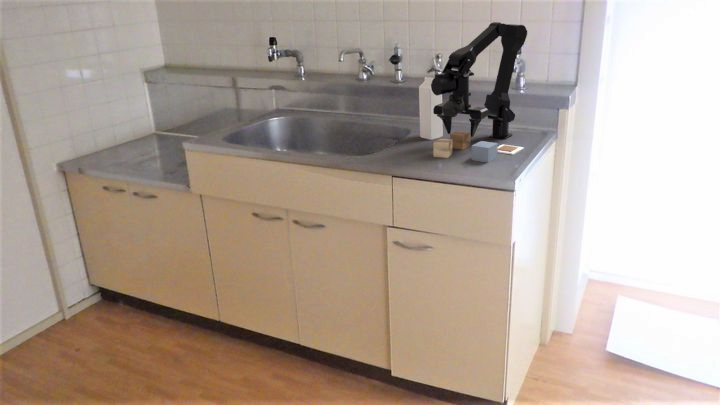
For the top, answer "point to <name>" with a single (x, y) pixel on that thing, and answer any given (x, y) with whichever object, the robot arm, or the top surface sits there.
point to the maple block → (442, 148)
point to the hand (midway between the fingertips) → (460, 135)
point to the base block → (484, 151)
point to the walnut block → (460, 139)
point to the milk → (429, 111)
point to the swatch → (509, 149)
